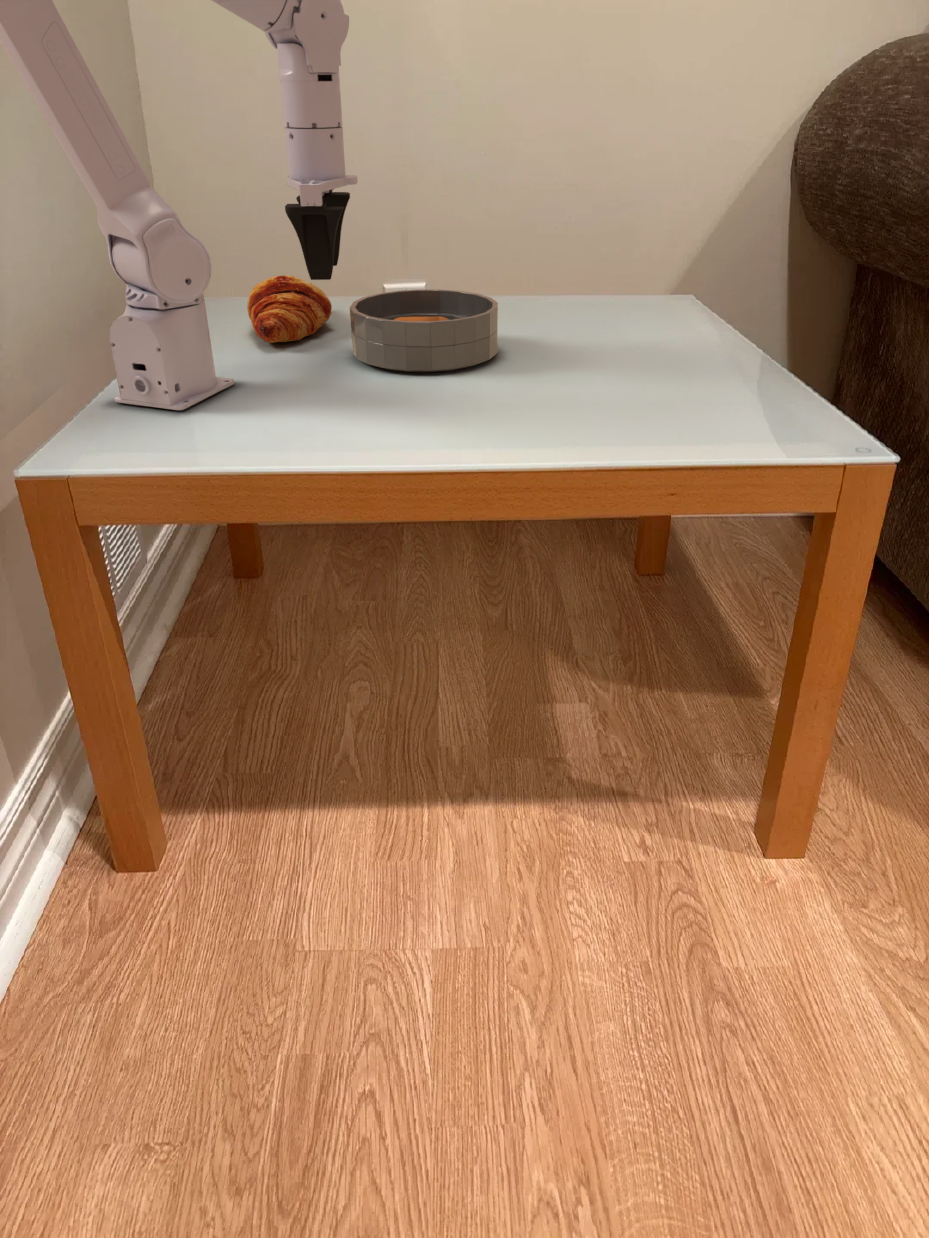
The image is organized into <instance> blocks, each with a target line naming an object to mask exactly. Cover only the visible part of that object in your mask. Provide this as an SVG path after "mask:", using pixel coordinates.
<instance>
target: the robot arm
mask: <svg viewBox="0 0 929 1238" xmlns="http://www.w3.org/2000/svg"><path fill="white" fill-rule="evenodd" d="M211 1H212V2H213V3H215V4H216V5H218V6H220V7H222V8H223V9H225V10H227V11H229V12H230V13H232V14H233V15H236V16H237V17H239V18H240V19H242V20H244V21H245V22H247V23H249V24H251V25H252V26H254V27H256V28H257V29H259V30H260V31H262V32H264V34H265V37H266V39H267V40H268V41H269V43H270V44H271V46H272V47H273V48H274V49H276V50H277V62H278V72H279V73H278V74H279V84H280V95H281V106H282V116H283V117H282V118H283V127H284V129H283V130H284V131H283V132H284V141H285V151H286V152H285V153H286V162H287V172H288V173H287V174H288V176H287V177H286V184H287V186H288V187H290V188H292V189H294V190H296V191H298V192H299V195H297V196H296V198H295V200H296V201H297V203H286V204H285V206H284V211H285V214H286V216H287V217H288V219H289V221H290V224H291V225H292V227H293V229H294V231H295V234H296V236H297V238H298V241H299V244H300V249H301V251H302V255H303V259H304V263H305V266H306V270H307V273H308V276H309V279H310V280H311V281H331V279H332V275H333V270H334V267H336V266H338V262H339V256H340V251H341V250H340V248H341V238H342V237H341V236H342V228H343V221H344V217H345V212H346V209H347V207H348V204H349V201H350V198H351V192H348V191H334V190H336V189H339V188H343V187H347V186H348V185H351V186H353V185H357V184H358V175H353V174H352V175H351V174H350V175H348V174H346V163H345V161H346V160H345V146H344V129H343V112H342V111H343V110H342V95H341V81H340V80H341V79H340V66H341V67H342V60H341V59H342V58H341V51H342V47H343V45H344V42H345V41H346V39H347V37H348V33H349V29H350V16H349V15H348V14H346V13H345V11H344V6H343V4H342V1H341V0H211ZM0 44H1V46H2V48H3V50H4V51H5V53H6V55H7V56H8V58H9V59H10V61H11V63H12V65H13V67H14V68H15V70H16V72H17V74H18V75H19V77H20V78H21V80H22V82H23V83H24V86H25V87H26V89H27V90H28V92H29V94H30V95H31V98H32V99H33V100H34V103H35V104H36V106H37V107H38V109H39V111H40V113H41V114H42V116H43V117H44V119H45V121H46V123H47V125H48V126H49V129H50V130H51V131H52V133H53V135H54V136H55V138H56V140H57V141H58V143H59V145H60V147H61V148H62V150H63V152H64V154H65V156H66V157H67V158H68V160H69V163H70V164H71V165H72V167H73V169H74V170H75V172H76V174H77V175H78V177H79V179H80V181H81V183H82V184H83V186H84V187H85V189H86V191H87V193H88V195H89V197H90V198H91V200H92V202H93V203H94V204H95V206H96V210H97V222H96V223H97V226H98V228H99V230H100V232H101V233H102V235H103V237H104V239H105V242H106V246H107V254H108V261H109V263H110V264H109V265H110V267H111V269H112V271H113V272H114V274H115V275H116V277H117V278H118V279H119V280H120V281H121V282H122V283H124V284H125V287H126V288H125V289H126V290H125V297H124V298H125V302H126V307H125V309H124V312H123V314H122V315H120V316H118V317H117V318H116V319H115V320H113V322H112V324H111V326H110V329H109V334H108V335H109V337H108V340H109V346H110V352H111V357H112V361H113V365H114V367H113V368H114V371H115V377H116V381H117V386H118V391H119V394H118V395H116V396H114V397H113V401H114V402H115V403H119V404H126V405H134V406H142V407H149V408H158V409H166V410H172V411H184V410H186V409H188V408H190V407H191V406H194V405H196V404H199V403H200V402H202V401H204V400H205V399H208V398H209V397H212V396H214V395H215V394H217V393H219V392H222V391H223V390H225V389H227V388H229V387H231V386H233V385H234V384H236V382H235V378H230V377H221V376H217V375H216V369H215V367H216V366H215V362H214V355H213V348H212V341H211V340H212V339H211V334H210V327H209V321H208V314H207V307H206V300H205V291H206V290H207V289H208V286H209V284H210V280H211V277H212V262H211V258H210V255H209V252H208V250H207V248H206V246H205V245H204V244H203V242H202V241H201V240H200V239H199V238H198V237H196V236H195V235H194V234H192V233H191V232H189V230H187V228H186V227H185V225H183V223H182V221H181V220H180V218H179V216H178V214H177V212H176V211H175V210H174V209H173V207H172V206H170V205H169V203H168V202H167V201H166V200H165V199H164V198H163V197H162V196H161V195H160V194H159V193H158V192H157V191H156V190H155V189H154V188H153V186H152V185H151V183H150V181H149V179H148V177H147V175H146V174H145V171H144V169H143V167H142V165H141V164H140V162H139V160H138V158H137V157H136V154H135V153H134V151H133V149H132V147H131V145H130V143H129V142H128V139H127V137H126V136H125V134H124V131H123V130H122V128H121V126H120V124H119V123H118V121H117V119H116V117H115V116H114V114H113V112H112V110H111V108H110V106H109V104H108V102H107V100H106V98H105V96H104V94H103V93H102V91H101V89H100V87H99V85H98V83H97V82H96V80H95V78H94V76H93V73H92V72H91V71H90V69H89V67H88V65H87V62H86V61H85V59H84V57H83V55H82V54H81V52H80V50H79V48H78V46H77V44H76V43H75V41H74V38H73V37H72V35H71V33H70V31H69V30H68V27H67V25H66V23H65V22H64V20H63V18H62V17H61V14H60V13H59V11H58V9H57V7H56V5H55V3H54V2H53V0H0Z"/></svg>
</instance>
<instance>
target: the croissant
mask: <svg viewBox="0 0 929 1238" xmlns="http://www.w3.org/2000/svg"><path fill="white" fill-rule="evenodd" d="M332 307H333V306H332V303H331V300H330V298H329V297H328V296H327V295H326V293H325V292H324V291H323V290H322V289H321V288H320V287H319V286H317V285H315V284H313V283H312V282H307V281H306V280H305V279H302V278H300V277H297V276H294V275H285V274H283V275H275V276H272V277H268V278H266V279H265V280H263V281H261V282H259V283H257V284H256V285H255V286H254V287H252V290H251V291H250V294H249V296H248V299H247V306H246V309H247V314H248V318H249V320H250V323H251V325H252V329H253V330H254V332H255V334H256V335H257V337H258V338H259V339H261V340H262V341H264V342H265V343H269V344H273V343H286V342H293V341H301V340H302V339H303V338H306V337H308V336H312V335H313V334H315V333H316V332H317V331H318V330H319V329H320V328H321V327H323V326H324V323H326V322H327V321H328V320H329V319H330V317H331V316H332Z"/></svg>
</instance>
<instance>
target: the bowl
mask: <svg viewBox="0 0 929 1238" xmlns="http://www.w3.org/2000/svg"><path fill="white" fill-rule="evenodd" d="M437 316H440V317H445V318H447V319H449V320H441V321H399V320H394V319H396V318H399V317H437ZM349 318H350V319H349V320H350V330H351V331H350V332H351V334H350V335H351V348H352V354H353V356H354V357H355V358H356V359H357V360H358V361H361V362H363V363H365V364H366V365H370V366H373V367H377V368H380V369H383V370H384V369H385V370H389V371H394V372H395V371H396V372H405V373H440V372H451V371H456V370H462V369H466V368H469V367H472V366H476V365H479V364H481V363H484V362H487V361H489V360H491V359H492V358H493V357H495V356H496V355H497V354H498V334H499V333H498V326H499V325H498V324H499V322H498V321H499V302H498V301H496V300H495V299H493V297H489V296H487V295H483V294H480V293H477V292H471V291H470V292H469V291H464V290H455V289H443V288H442V289H436V288H435V289H433V288H432V289H431V288H430V289H428V288H420V289H419V288H418V289H404V290H403V289H402V290H393V291H392V290H391V291H385V292H379V293H375V294H371V295H366V296H363V297H361V298H359V299H356V300H354V301H353V302H352V303H351V304H350V306H349Z"/></svg>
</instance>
